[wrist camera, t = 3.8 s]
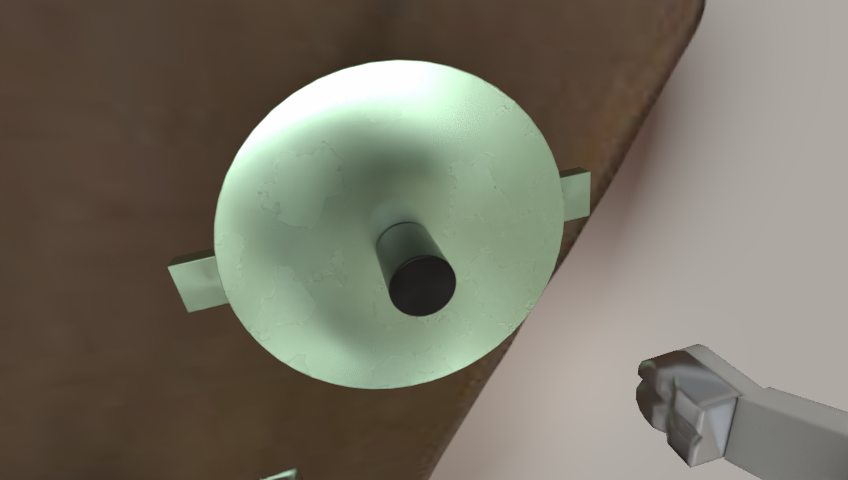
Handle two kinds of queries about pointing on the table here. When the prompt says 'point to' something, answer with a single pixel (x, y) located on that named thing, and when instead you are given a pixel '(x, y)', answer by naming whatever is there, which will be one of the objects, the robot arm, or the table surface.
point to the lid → (388, 224)
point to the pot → (204, 285)
